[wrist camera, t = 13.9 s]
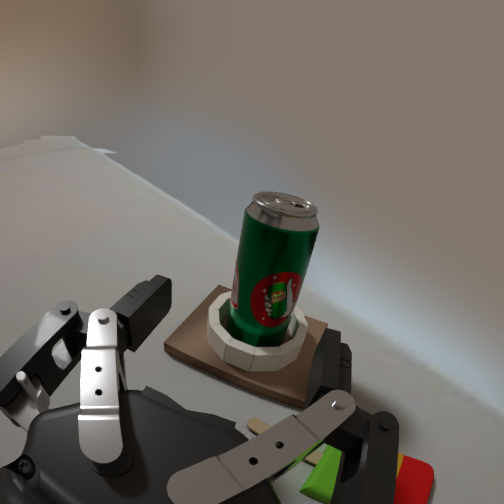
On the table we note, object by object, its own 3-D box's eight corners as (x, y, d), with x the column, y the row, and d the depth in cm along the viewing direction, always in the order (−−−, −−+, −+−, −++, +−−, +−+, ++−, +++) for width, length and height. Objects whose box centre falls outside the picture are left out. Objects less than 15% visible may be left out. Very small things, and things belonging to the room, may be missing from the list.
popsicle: (405, 530, 8) (422, 524, 7) (223, 451, 15) (226, 442, 14) (424, 473, 13) (439, 463, 12) (267, 402, 19) (272, 389, 18)
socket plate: (164, 350, 21) (162, 324, 20) (217, 292, 30) (220, 268, 28) (303, 408, 18) (316, 387, 17) (325, 330, 27) (334, 308, 25)
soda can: (238, 310, 26) (261, 185, 21) (289, 328, 25) (327, 203, 19) (215, 343, 22) (235, 199, 16) (273, 366, 21) (318, 223, 15)
